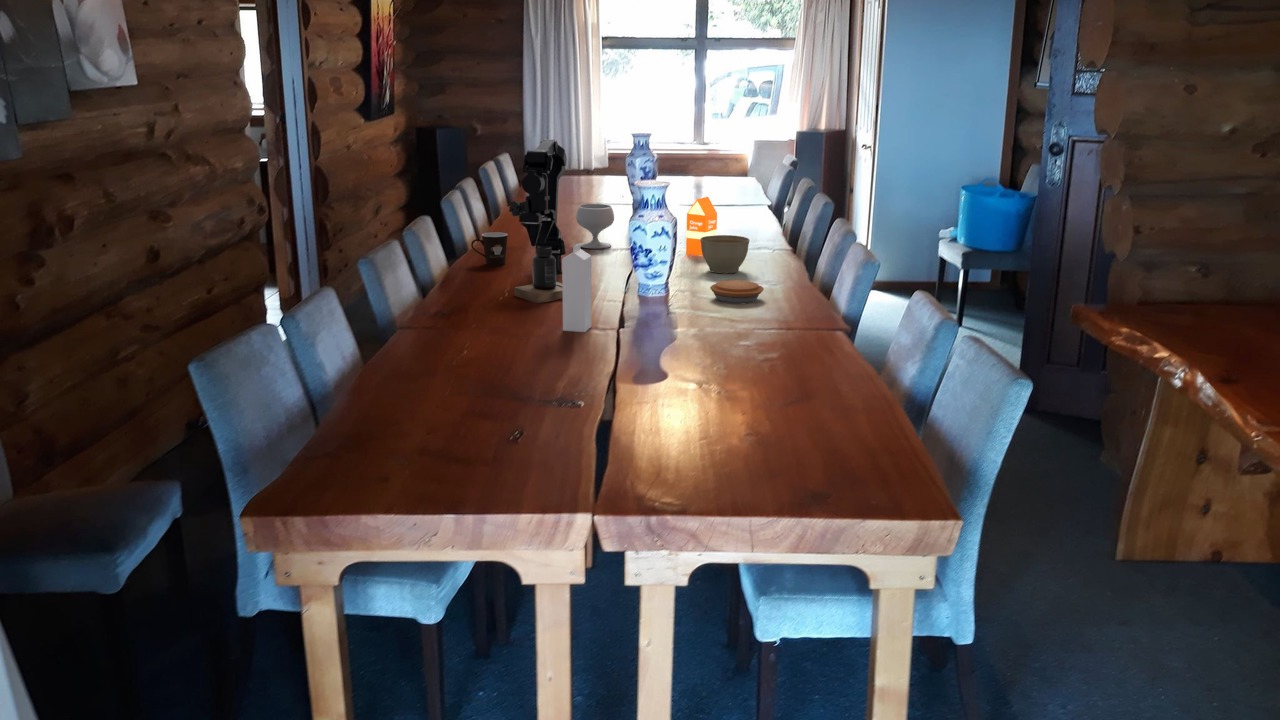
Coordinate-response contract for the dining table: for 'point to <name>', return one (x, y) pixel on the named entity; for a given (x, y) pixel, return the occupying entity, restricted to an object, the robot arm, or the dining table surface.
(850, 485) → the dining table surface
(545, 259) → the supplement bottle
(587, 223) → the chalice
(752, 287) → the pie
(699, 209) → the orange juice
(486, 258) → the coffee mug
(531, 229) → the robot arm
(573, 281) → the milk
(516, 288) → the beige flat block
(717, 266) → the planter bowl
